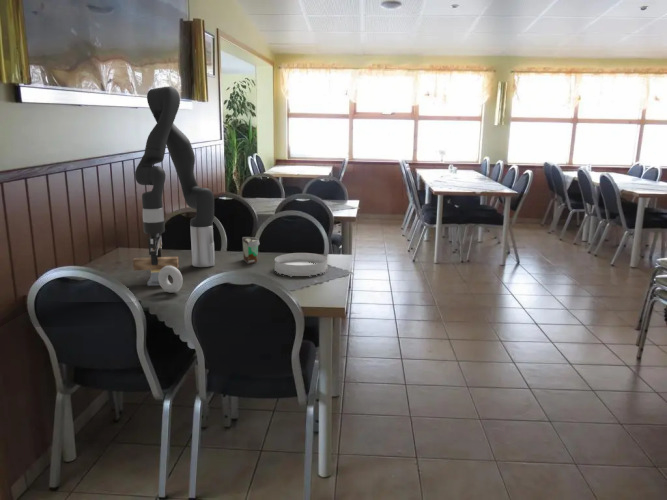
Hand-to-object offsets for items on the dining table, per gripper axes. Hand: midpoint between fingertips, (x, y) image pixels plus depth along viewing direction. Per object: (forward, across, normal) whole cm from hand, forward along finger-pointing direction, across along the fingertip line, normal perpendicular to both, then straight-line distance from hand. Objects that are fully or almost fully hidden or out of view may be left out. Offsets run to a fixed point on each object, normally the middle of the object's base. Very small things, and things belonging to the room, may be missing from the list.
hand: (156, 262), depth 209 cm
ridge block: (+8, 0, 0) cm, 8 cm away
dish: (+9, +12, -56) cm, 58 cm away
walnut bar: (+3, 0, 0) cm, 3 cm away
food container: (+8, +29, -36) cm, 47 cm away
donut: (+8, -14, -7) cm, 18 cm away
